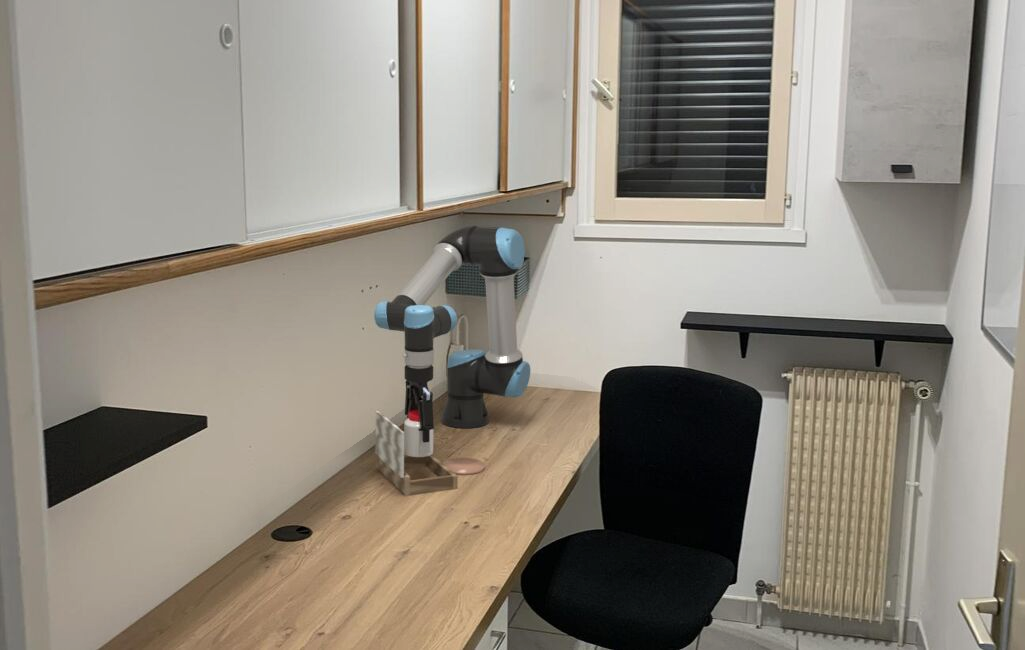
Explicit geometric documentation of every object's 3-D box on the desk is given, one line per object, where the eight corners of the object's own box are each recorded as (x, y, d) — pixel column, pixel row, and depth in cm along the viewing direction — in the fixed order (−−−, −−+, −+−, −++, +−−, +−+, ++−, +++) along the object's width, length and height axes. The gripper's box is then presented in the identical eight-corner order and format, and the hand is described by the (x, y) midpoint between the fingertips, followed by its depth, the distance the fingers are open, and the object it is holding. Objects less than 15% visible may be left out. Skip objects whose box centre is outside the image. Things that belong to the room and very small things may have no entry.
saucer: (434, 463, 273) (434, 460, 273) (473, 458, 279) (474, 455, 279) (451, 477, 263) (451, 474, 263) (491, 471, 268) (491, 469, 268)
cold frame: (375, 471, 266) (375, 411, 263) (428, 464, 273) (429, 405, 270) (401, 496, 248) (401, 432, 245) (457, 488, 255) (458, 426, 252)
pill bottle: (399, 449, 261) (399, 410, 259) (426, 445, 265) (426, 407, 262) (410, 458, 255) (410, 418, 252) (437, 454, 258) (438, 415, 256)
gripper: (392, 357, 262) (392, 438, 267) (419, 376, 244) (419, 462, 249) (418, 354, 265) (418, 434, 270) (447, 373, 247) (446, 458, 252)
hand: (418, 447), depth 259 cm, fingers closed on pill bottle, 8 cm apart
